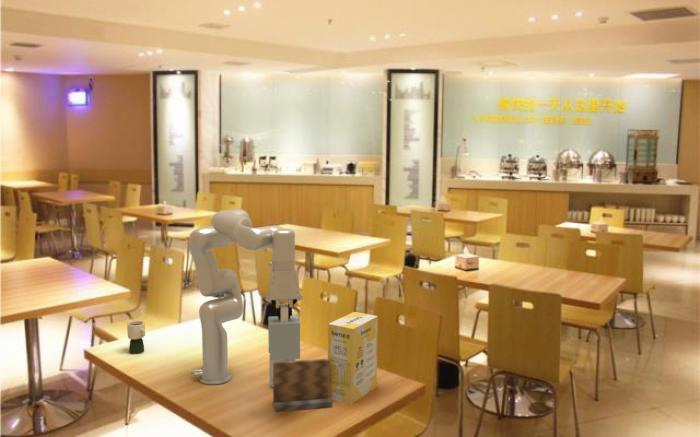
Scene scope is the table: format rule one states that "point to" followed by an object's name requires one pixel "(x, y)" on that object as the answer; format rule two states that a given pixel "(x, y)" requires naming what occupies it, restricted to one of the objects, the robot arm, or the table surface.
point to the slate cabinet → (284, 336)
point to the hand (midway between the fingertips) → (284, 317)
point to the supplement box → (272, 369)
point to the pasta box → (352, 356)
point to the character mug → (136, 336)
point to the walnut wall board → (301, 385)
